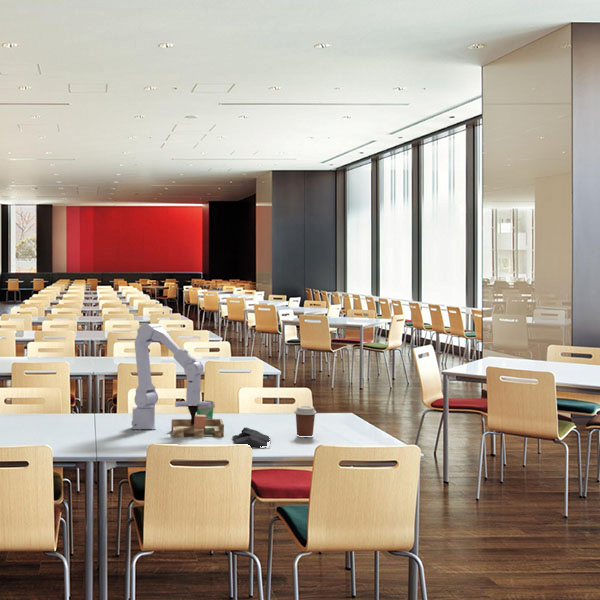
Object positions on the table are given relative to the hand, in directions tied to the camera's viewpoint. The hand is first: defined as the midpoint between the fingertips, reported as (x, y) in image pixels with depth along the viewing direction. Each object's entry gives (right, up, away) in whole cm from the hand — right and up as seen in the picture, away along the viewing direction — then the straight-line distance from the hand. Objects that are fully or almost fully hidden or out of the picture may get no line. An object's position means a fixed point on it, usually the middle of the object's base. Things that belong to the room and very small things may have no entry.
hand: (192, 424), depth 343 cm
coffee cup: (+46, -5, -2) cm, 46 cm away
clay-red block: (+3, -1, 0) cm, 3 cm away
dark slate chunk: (+25, -5, -18) cm, 31 cm away
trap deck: (+2, -4, -3) cm, 5 cm away
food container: (+4, -3, +18) cm, 18 cm away
